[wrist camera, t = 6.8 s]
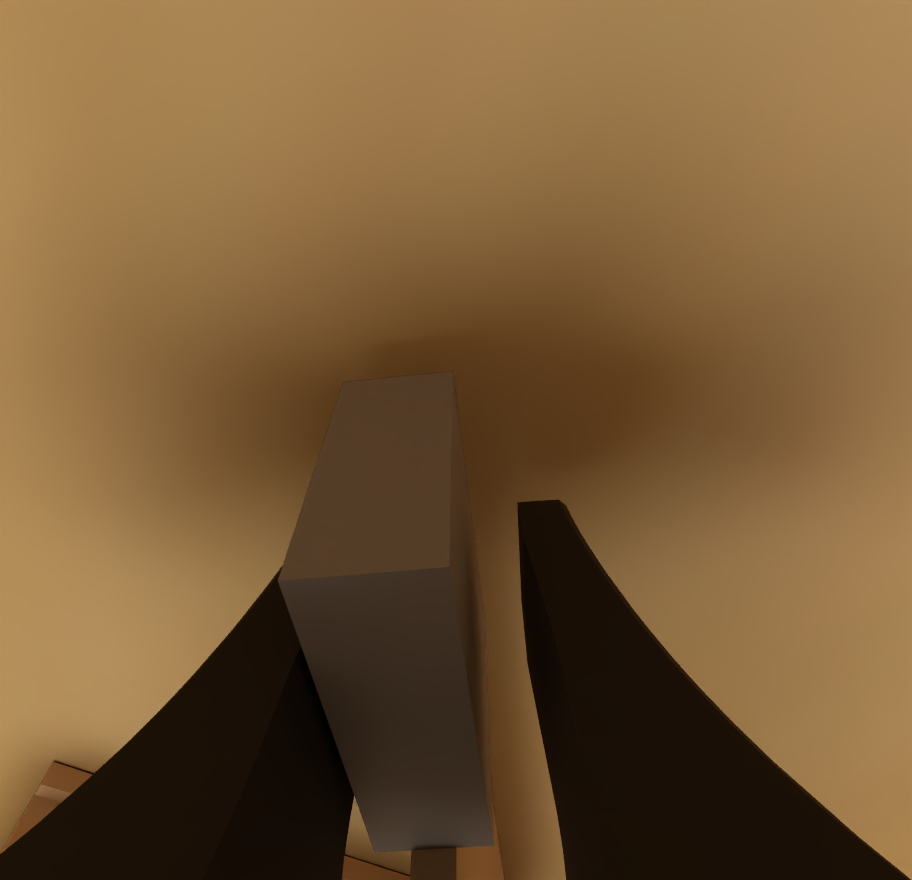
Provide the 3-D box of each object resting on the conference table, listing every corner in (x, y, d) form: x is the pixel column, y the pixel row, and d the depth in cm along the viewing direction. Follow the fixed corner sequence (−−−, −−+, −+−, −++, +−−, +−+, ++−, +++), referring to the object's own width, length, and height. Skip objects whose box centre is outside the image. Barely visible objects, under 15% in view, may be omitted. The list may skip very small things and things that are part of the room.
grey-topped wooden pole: (523, 900, 20) (542, 1165, 16) (472, 902, 20) (476, 1166, 16) (454, 340, 10) (448, 607, 6) (353, 349, 10) (264, 623, 6)
